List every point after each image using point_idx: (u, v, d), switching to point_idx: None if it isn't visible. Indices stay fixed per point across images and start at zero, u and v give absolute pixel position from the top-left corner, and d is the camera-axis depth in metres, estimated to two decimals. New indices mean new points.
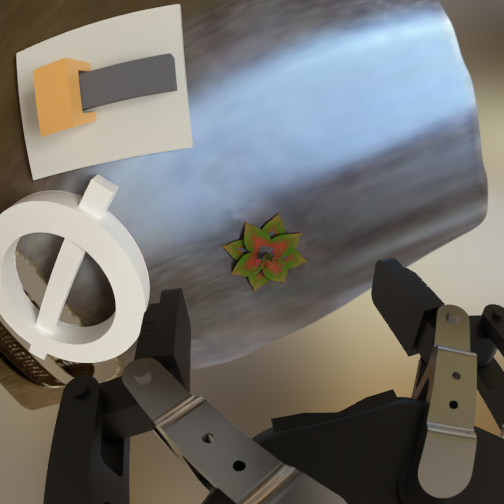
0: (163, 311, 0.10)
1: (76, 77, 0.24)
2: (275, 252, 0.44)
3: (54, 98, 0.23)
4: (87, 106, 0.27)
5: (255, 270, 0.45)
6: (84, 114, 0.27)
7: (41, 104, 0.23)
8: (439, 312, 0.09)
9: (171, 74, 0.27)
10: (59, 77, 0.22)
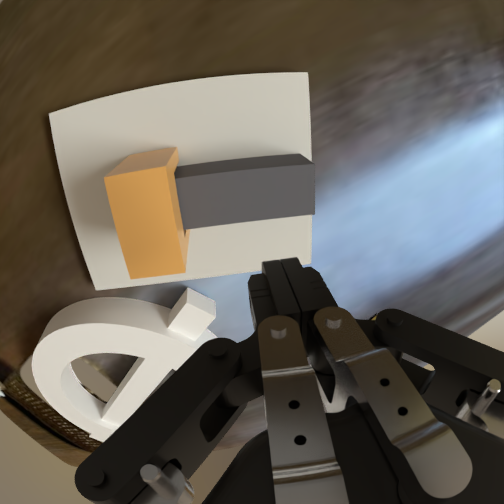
0: (273, 278, 0.11)
1: (174, 188, 0.20)
2: None
3: (150, 229, 0.19)
4: (190, 227, 0.23)
5: None
6: (185, 236, 0.24)
7: (126, 235, 0.19)
8: (317, 322, 0.09)
9: (313, 193, 0.23)
10: (156, 198, 0.18)
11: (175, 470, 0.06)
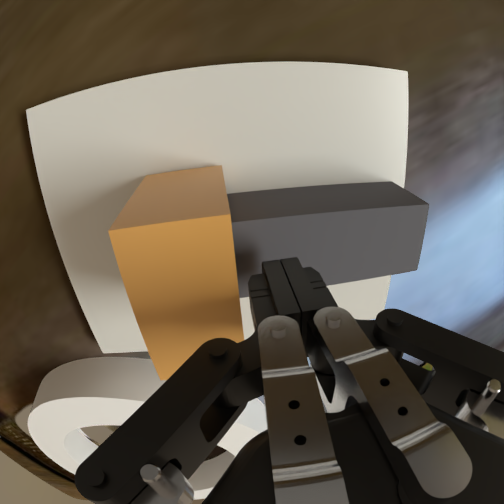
0: (273, 278, 0.11)
1: None
2: None
3: (196, 318, 0.11)
4: None
5: None
6: None
7: (154, 325, 0.11)
8: (317, 322, 0.09)
9: (420, 243, 0.15)
10: (209, 270, 0.10)
11: (175, 470, 0.06)
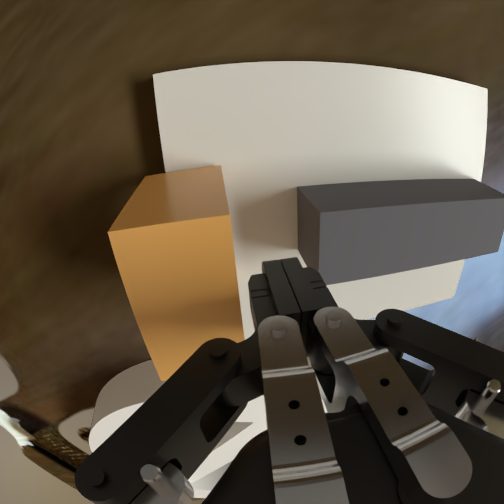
0: (273, 278, 0.11)
1: None
2: None
3: (196, 318, 0.11)
4: (394, 271, 0.16)
5: None
6: None
7: (154, 326, 0.11)
8: (317, 322, 0.09)
9: (502, 229, 0.16)
10: (209, 270, 0.10)
11: (175, 470, 0.06)
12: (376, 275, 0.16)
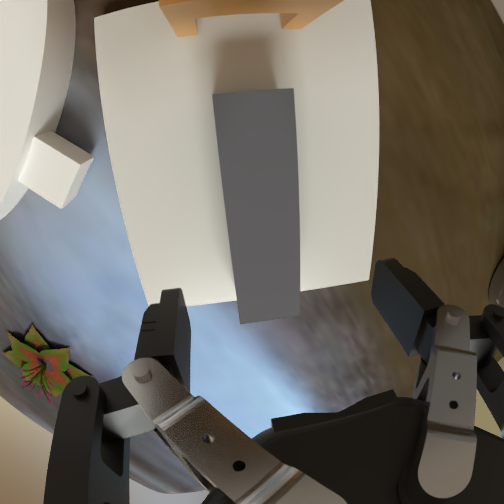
0: (163, 311, 0.10)
1: (282, 9, 0.11)
2: (50, 373, 0.28)
3: None
4: (224, 181, 0.16)
5: (23, 357, 0.26)
6: (191, 21, 0.12)
7: None
8: (439, 312, 0.09)
9: (264, 318, 0.20)
10: None
11: None
12: (220, 159, 0.15)
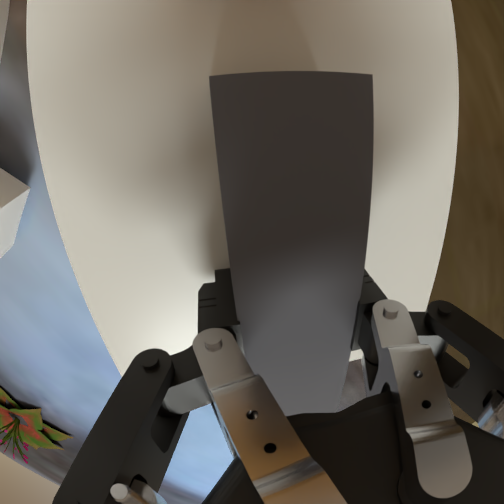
0: (221, 288, 0.11)
1: None
2: (25, 428, 0.21)
3: None
4: (234, 253, 0.08)
5: None
6: None
7: None
8: (375, 310, 0.09)
9: None
10: None
11: (142, 485, 0.05)
12: (226, 212, 0.08)
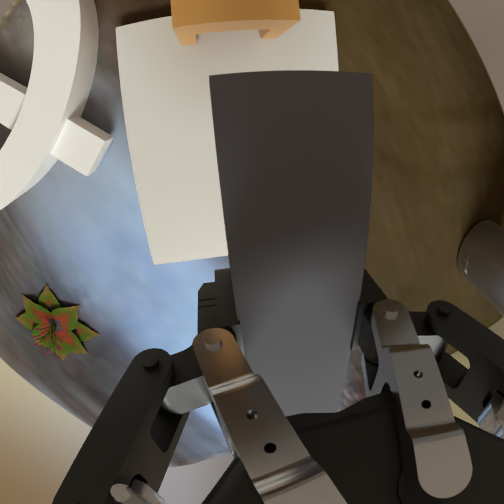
0: (221, 288, 0.11)
1: (258, 27, 0.16)
2: (59, 333, 0.33)
3: None
4: (233, 252, 0.08)
5: (35, 319, 0.31)
6: (193, 35, 0.17)
7: None
8: (375, 310, 0.09)
9: None
10: (267, 6, 0.14)
11: (142, 485, 0.05)
12: (226, 211, 0.08)
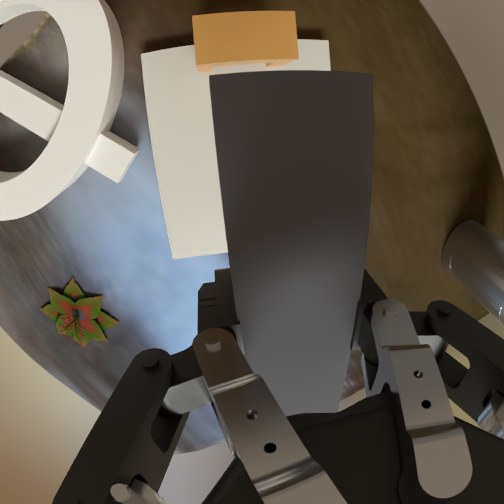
0: (221, 288, 0.11)
1: (264, 62, 0.21)
2: (82, 322, 0.38)
3: (243, 39, 0.18)
4: (233, 252, 0.08)
5: (59, 309, 0.36)
6: (210, 67, 0.22)
7: (240, 19, 0.18)
8: (375, 311, 0.09)
9: None
10: (272, 48, 0.19)
11: (142, 485, 0.05)
12: (226, 211, 0.08)
